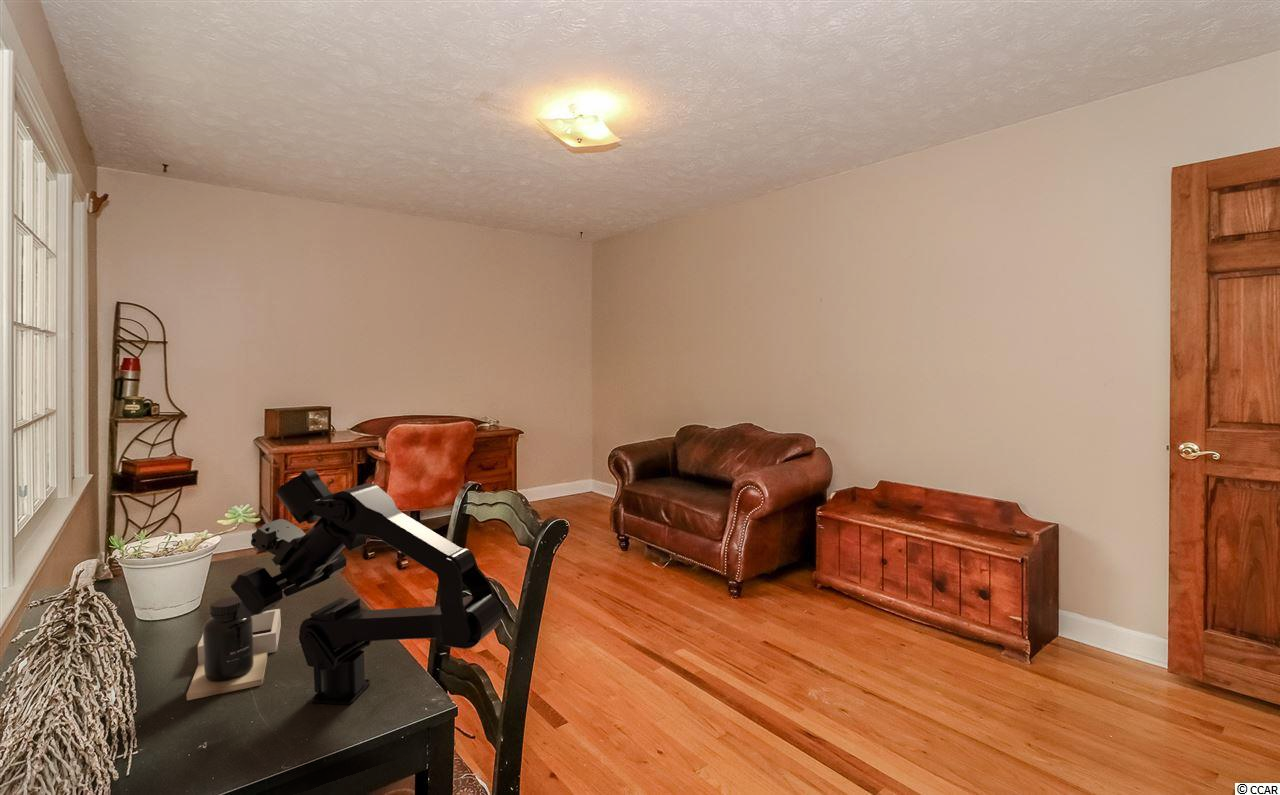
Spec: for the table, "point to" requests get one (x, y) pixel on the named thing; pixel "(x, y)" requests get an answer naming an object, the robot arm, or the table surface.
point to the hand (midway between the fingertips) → (263, 605)
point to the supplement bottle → (227, 641)
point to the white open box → (260, 641)
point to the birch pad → (207, 688)
